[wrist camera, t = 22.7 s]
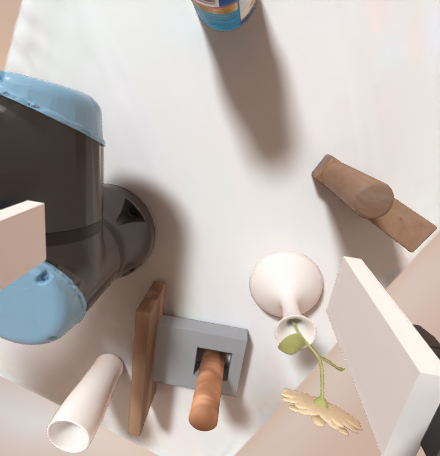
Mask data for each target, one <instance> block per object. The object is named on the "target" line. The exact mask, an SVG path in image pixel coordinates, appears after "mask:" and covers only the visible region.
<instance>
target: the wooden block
mask: <svg viewBox="0 0 440 456" xmlns="http://www.w3.org/2000/svg"><path fill="white" fill-rule="evenodd" d="M312 176H313V177H314V178H315V179H316V180H318V181H319V182H320V183H322V184H323V185H325V186H326V187H327V188H329V189H330V190H331V191H332V192H333V193H335V194H336V195H337V196H338V197H339V198H340V199H341V200H342V201H343V202H345V203H346V204H347V205H348V206H349V207H350V208H351V209H352V210H354V211H355V212H356V213H357V214H358V215H359V216H361V217H363V218H365V219H368V220H369V221H371V222H372V223H373V224H374V225H376V226H377V227H378V228H380V229H381V230H382V231H384V232H385V233H386V234H387V235H389V236H390V237H391V238H393V239H394V240H395V241H397V242H398V243H399V244H400V245H402V246H403V247H404V248H406V249H407V250H408V251H410V252H414V251H415V250H416V249H417V248H418V247H419V246H420V245H421V244H422V243H423V242H424V241H425V240H426V239H427V238H428V237H429V236H430V235H431V234H432V233H433V232H434V231H435V230H436V229H437V227H436V226H435V225H433V224H432V223H430V222H429V221H428V220H426V219H425V218H423V217H422V216H420V215H419V214H417V213H416V212H414V211H413V210H411V209H410V208H408V207H407V206H405V205H404V204H402V203H401V202H399V201H398V200H397V199H395V198H394V194H393V192H392V189H391V188H390V187H389V186H388V185H387V184H385V183H383V182H381V181H379V180H377V179H375V178H373V177H371V176H369V175H366V174H364V173H362V172H360V171H358V170H356V169H354V168H352V167H350V166H348V165H346V164H343V163H341V162H340V161H339V160H337V159H336V158H335V157H333V156H331V155H328V154H327V155H326V156H325V157H324V158H323V159H322V161H321V162H320V163H319V164H318V166H317V167H316V168H315V170H314V171H313V172H312Z"/></svg>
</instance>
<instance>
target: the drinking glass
mask: <svg viewBox="0 0 440 456" xmlns="http://www.w3.org/2000/svg"><path fill="white" fill-rule="evenodd" d="M122 371H123V363H122V361H121V360H120V358H118V357H117V356H116V355H113V354H109V353H107V354H102V355H100V356H99V357H98V358H97V359H96V361H95V362H94V364H93V365H92V367H91V368H90V369H89V370H88V372H87V373H86V374H85V375H84V377H83V378H82V379H81V381H80V382H79V383H78V384H77V385H76V387H75V388H74V389H73V390H72V392H71V393H70V394H69V395H68V397H67V398H66V399H65V401H64V402H63V403H62V405H61V406H60V408H59V409H58V411H57V412H56V414H55V415H54V417H53V419H52V420H51V422H50V424H49V425H48V427H47V436H48V439H49V440H50V442H51V443H52V444H53V445H54V446H55V447H57V448H58V449H60V450H63V451H65V452H69V453H78V452H82V451H84V450H85V449H87V448H88V446H89V445H90V443H91V441H92V439H93V437H94V436H95V434H96V432H97V430H98V428H99V426H100V424H101V422H102V419H103V417H104V414H105V412H106V409H107V407H108V404H109V402H110V399H111V397H112V394H113V392H114V389H115V387H116V384H117V382H118V379H119V377H120V375H121V373H122Z"/></svg>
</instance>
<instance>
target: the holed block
mask: <svg viewBox="0 0 440 456" xmlns="http://www.w3.org/2000/svg"><path fill="white" fill-rule="evenodd" d="M247 334H248V330H247V329H241V328H236V327H230V326H225V325H219V324H214V323H208V322H202V321H197V320H191V319H186V318H180V317H175V316H169V315H163V314H162V317H161V319H160V321H159V323H158V327H157V338H156V349H155V360H154V370H153V381H155V382H160V383H165V384H171V385H176V386H181V387H186V388H192V389H195V387H196V382H197V378H198V373H199V368H200V363H196V359H197V352H198V347H200V348H205V349H211V350H216V351H222V352H227V353H231V357H230V363H229V368H228V369H227V368H224V370H223V379H222V387H221V394H223V395H229V396H234V397H236V394H237V389H238V384H239V379H240V374H241V369H242V364H243V360H244V355H245V350H246V345H247Z"/></svg>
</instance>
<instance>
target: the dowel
mask: <svg viewBox="0 0 440 456" xmlns="http://www.w3.org/2000/svg"><path fill="white" fill-rule="evenodd" d="M225 353H226V352H222V351H216V350H211V349H205V348H204V350H203V354H202V359H201V364H200V368H199V373H198V378H197V382H196V387H195V392H194V396H193V401H192V406H191V411H190V415H189V422H190V424H191V425H192V426H193V427H194V428H195V429H197V430H200V431H210V430H212V429H214V428H215V427H216V425H217V422H218V413H219V405H220V396H221V387H222V379H223V370H224V361H225Z"/></svg>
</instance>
